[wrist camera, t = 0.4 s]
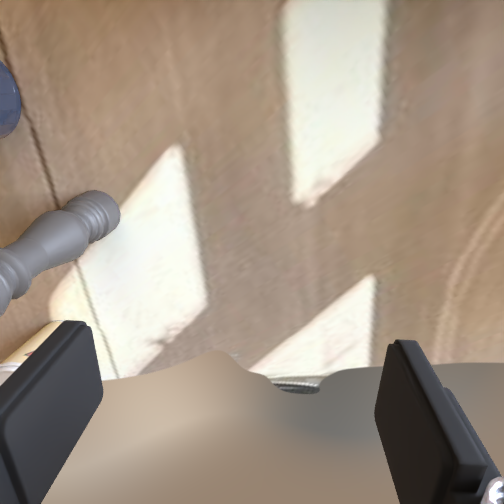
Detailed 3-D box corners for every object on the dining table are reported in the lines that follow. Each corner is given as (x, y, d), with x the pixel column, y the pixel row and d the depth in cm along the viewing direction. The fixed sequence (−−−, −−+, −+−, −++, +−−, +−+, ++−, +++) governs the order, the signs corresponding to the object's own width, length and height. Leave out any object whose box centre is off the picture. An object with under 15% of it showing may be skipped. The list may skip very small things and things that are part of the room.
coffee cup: (104, 351, 59) (64, 409, 48) (61, 368, 62) (13, 427, 51) (70, 308, 56) (20, 359, 45) (26, 327, 58) (-32, 380, 47)
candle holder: (128, 225, 50) (-2, 335, 27) (90, 238, 51) (-63, 354, 28) (106, 184, 47) (-55, 266, 25) (68, 198, 49) (-119, 289, 26)
